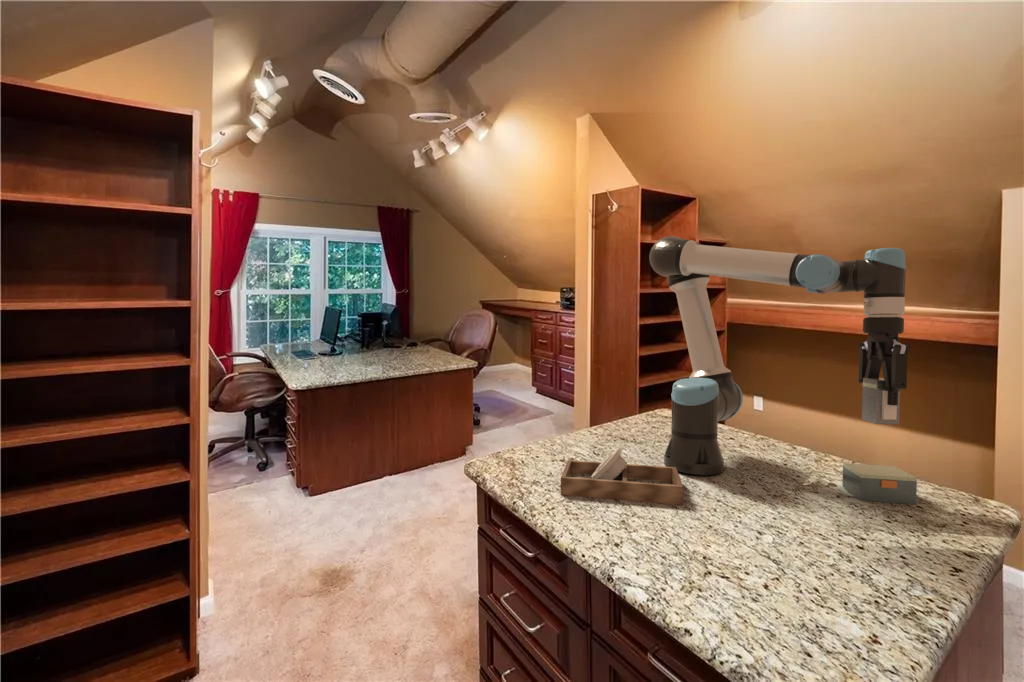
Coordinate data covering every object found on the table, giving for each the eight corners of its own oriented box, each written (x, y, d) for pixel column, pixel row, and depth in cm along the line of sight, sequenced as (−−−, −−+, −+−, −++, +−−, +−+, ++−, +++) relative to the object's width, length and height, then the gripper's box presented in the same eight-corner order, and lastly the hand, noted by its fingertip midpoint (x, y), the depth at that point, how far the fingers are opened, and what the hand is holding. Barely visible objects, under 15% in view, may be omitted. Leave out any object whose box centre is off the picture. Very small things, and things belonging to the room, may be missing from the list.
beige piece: (587, 477, 123) (612, 449, 126) (600, 490, 122) (625, 461, 125) (594, 474, 114) (621, 444, 116) (608, 488, 113) (635, 457, 115)
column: (861, 419, 115) (862, 377, 115) (883, 420, 115) (885, 378, 115) (876, 424, 110) (877, 380, 110) (899, 424, 110) (900, 380, 110)
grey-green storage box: (860, 500, 110) (861, 474, 110) (842, 487, 119) (843, 463, 119) (917, 505, 107) (918, 478, 107) (893, 490, 117) (894, 466, 116)
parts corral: (560, 494, 113) (560, 477, 112) (567, 475, 127) (567, 460, 127) (683, 504, 107) (683, 487, 106) (675, 483, 121) (675, 467, 121)
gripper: (842, 317, 121) (839, 409, 122) (894, 315, 103) (891, 424, 104) (873, 317, 121) (870, 410, 121) (931, 315, 103) (927, 425, 103)
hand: (880, 416), depth 113 cm, fingers closed on column, 5 cm apart
